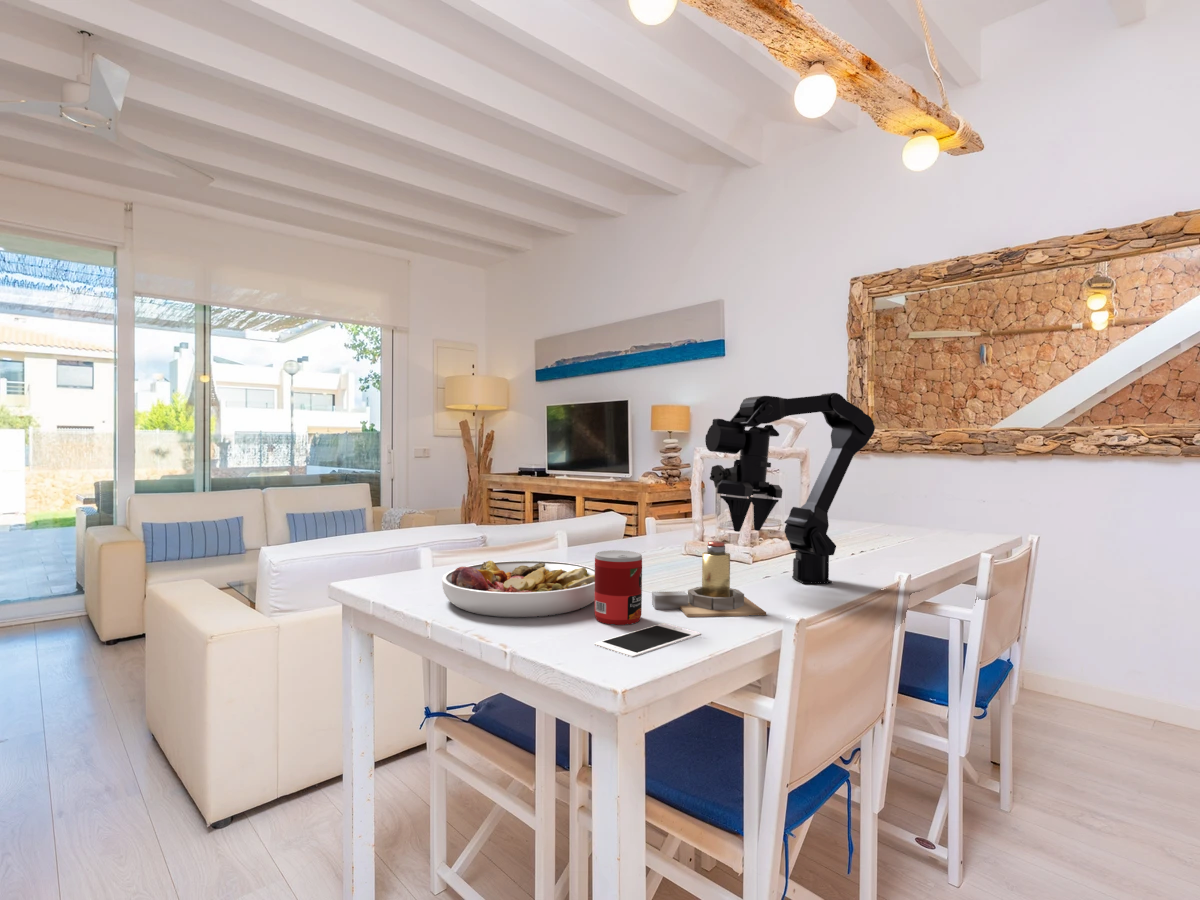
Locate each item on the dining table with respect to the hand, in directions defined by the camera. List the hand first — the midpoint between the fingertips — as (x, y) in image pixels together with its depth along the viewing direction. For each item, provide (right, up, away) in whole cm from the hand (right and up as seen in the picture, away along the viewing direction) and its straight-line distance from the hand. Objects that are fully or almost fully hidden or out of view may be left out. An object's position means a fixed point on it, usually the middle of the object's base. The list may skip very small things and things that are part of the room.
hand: (747, 531), depth 135 cm
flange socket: (-12, -12, -17) cm, 23 cm away
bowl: (-45, -12, -13) cm, 48 cm away
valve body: (-9, -11, -16) cm, 22 cm away
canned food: (-28, -12, -26) cm, 40 cm away
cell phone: (-23, -12, -37) cm, 45 cm away
